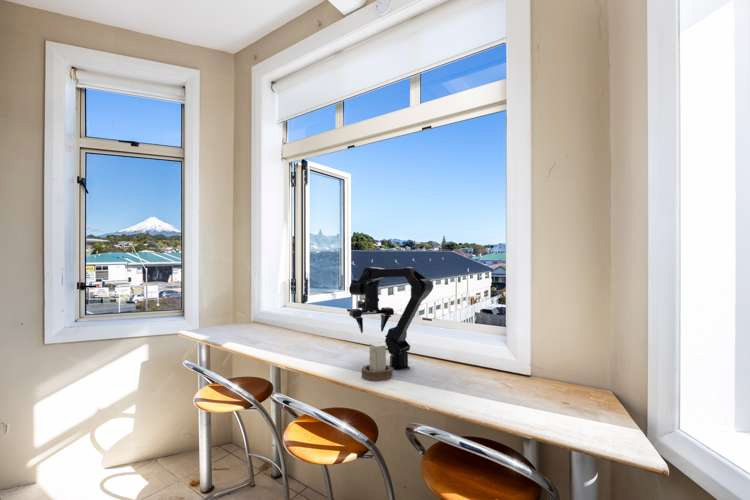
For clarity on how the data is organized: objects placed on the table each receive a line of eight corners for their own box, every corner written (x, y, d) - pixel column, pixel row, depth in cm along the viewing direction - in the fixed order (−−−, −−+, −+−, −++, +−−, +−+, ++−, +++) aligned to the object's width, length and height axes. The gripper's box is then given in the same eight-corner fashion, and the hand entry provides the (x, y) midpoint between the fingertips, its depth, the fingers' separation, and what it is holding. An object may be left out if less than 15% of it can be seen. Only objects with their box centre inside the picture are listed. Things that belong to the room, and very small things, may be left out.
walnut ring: (385, 370, 146) (385, 362, 146) (396, 378, 136) (396, 370, 136) (358, 373, 143) (358, 365, 143) (367, 382, 132) (367, 374, 132)
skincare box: (369, 374, 141) (368, 342, 142) (379, 373, 143) (379, 341, 143) (375, 379, 135) (375, 346, 136) (386, 377, 137) (386, 345, 138)
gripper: (385, 293, 170) (385, 327, 169) (345, 295, 163) (346, 330, 163) (394, 295, 159) (394, 331, 159) (352, 297, 153) (353, 335, 152)
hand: (371, 332), depth 159 cm, fingers open, 9 cm apart
